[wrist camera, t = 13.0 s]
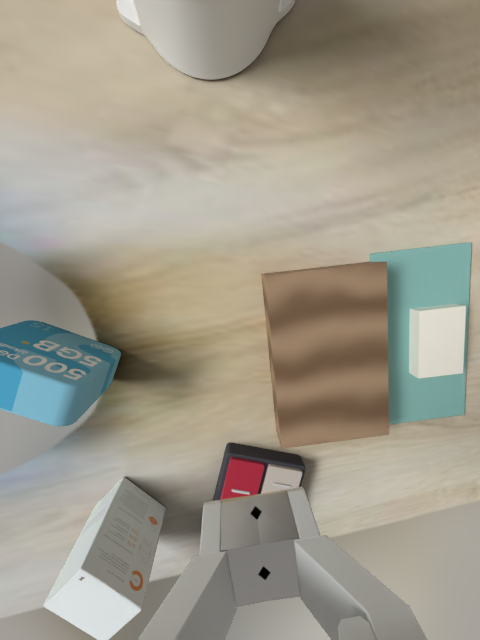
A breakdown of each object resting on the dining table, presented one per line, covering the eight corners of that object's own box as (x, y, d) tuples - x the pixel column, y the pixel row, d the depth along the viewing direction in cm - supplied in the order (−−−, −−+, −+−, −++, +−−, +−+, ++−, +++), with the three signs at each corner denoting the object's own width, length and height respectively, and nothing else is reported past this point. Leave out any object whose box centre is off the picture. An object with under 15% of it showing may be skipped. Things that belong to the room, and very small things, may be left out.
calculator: (308, 470, 40) (280, 567, 41) (299, 451, 44) (275, 540, 46) (227, 455, 39) (203, 556, 40) (227, 438, 43) (205, 529, 45)
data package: (125, 350, 39) (81, 389, 27) (114, 381, 39) (67, 431, 28) (32, 317, 37) (-57, 343, 26) (23, 350, 38) (-68, 389, 26)
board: (261, 274, 38) (265, 275, 34) (370, 261, 38) (386, 261, 34) (276, 430, 42) (281, 448, 38) (373, 418, 42) (389, 434, 38)
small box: (95, 504, 43) (39, 607, 30) (124, 475, 42) (80, 567, 29) (138, 535, 44) (103, 646, 31) (167, 507, 43) (143, 610, 31)
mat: (370, 253, 38) (371, 253, 37) (469, 242, 38) (471, 242, 38) (374, 424, 42) (375, 426, 42) (462, 413, 43) (464, 414, 42)
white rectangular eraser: (466, 305, 37) (453, 303, 39) (419, 311, 37) (409, 308, 39) (463, 373, 39) (451, 367, 41) (418, 378, 39) (409, 373, 41)
